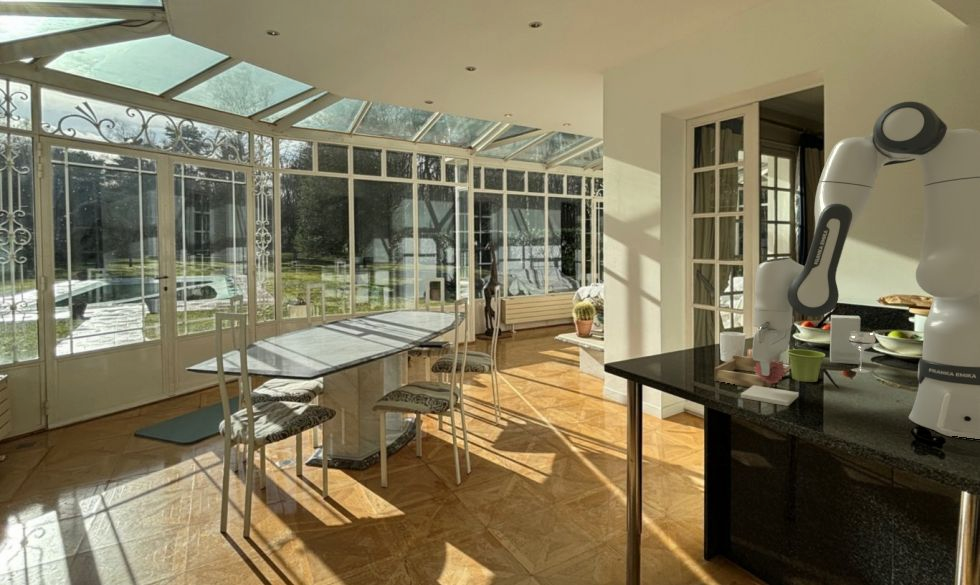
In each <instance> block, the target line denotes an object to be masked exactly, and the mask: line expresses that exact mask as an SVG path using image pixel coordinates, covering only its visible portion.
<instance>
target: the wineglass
mask: <svg viewBox="0 0 980 585" xmlns="http://www.w3.org/2000/svg"><path fill="white" fill-rule="evenodd" d="M850 334H851V335H850V336H849V341H850V343H851V344H852V345H853V346H854V347H855V348H857V349H858V350H859V351H860V355H859V367H856V368H852V369H850V370H851V372H855V373H862V374H863V373H865V374H866V373H870V372H871V371H870V370H867V369H865V368H862V363H863V357H864V356H863V355H864V351H865V350H868V349H870V348H871V347H873V346H874V345H875V344H876V337H875V336H876V333H875V332H871V331H861V330H860V331H851V332H850Z"/></svg>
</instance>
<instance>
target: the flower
mask: <svg viewBox="0 0 980 585" xmlns="http://www.w3.org/2000/svg"><path fill="white" fill-rule="evenodd" d="M776 362H777V361H774V362H772V359H771V362H770V368H771V374H770V375H768V376H765V375H762V368H761V364H760V365H759V364H757V363H756V365H757V367H755V366H754V368H755V369H756V370H754V371H755V372H754V375H758V377H760V378H762V379H763V381H766V382H767V383H770V384H771V383H773V384H776V383H779V382H780V381H781V380H782V378H783V377H785V374H787V372H785V371H784V370H787V369H785V368H783V367H785V366H784V365H780V364H782V363H776ZM784 373H785V374H784Z"/></svg>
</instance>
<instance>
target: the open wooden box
mask: <svg viewBox="0 0 980 585" xmlns="http://www.w3.org/2000/svg"><path fill="white" fill-rule="evenodd" d="M756 363H757V364H759V365H760V361H756V360H753V358H752V357H747V356H745V355H744V356H737V355H733V359H731V360H729V361H727V362H725V361H724V363H721V364H720V365H718V366H715V367H713V368H714V371H713V382H715V381H719V382H718V383H721V382H725V383H724V384H727V383H730V384H729V385H733V384H735V385H734V386H739V385H740V386H741V387H745V388H746V387H747V388H750V387H752V386H753V385H755V386H761V387H767V388H772V386H774V385H775V383H771V384H770V383H767V382H766V381H763V379H762V378H760V377H758V375H756V374H751V373H746V372H747V371H748V372H753V373H756V372H755V371H754V370H756V369H755V368H754V366H755V367H757V365H756ZM779 363H782V364H780V365H783V363H784V361H782V360H779ZM735 370H740V371H746V372H745V373H744V372H737V371H735Z"/></svg>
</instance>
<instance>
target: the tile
mask: <svg viewBox="0 0 980 585" xmlns="http://www.w3.org/2000/svg"><path fill="white" fill-rule="evenodd" d="M799 394H800V393H799V392H798V391H791V390H785V389H779V388H773V387H770V388H767V387H761V386H755V385H753V386H752V387H748V388H747V389H746V390H744V391H743V392H741V393H740V398H741V399H747V400H750V401H751V400H753V401H758V402H763V403H769V404H773V405H774V404H775V405H781V406H787V407H788V406H790V405H791V404H792V403H793V402H794V401H796V399H798V398H799Z"/></svg>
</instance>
